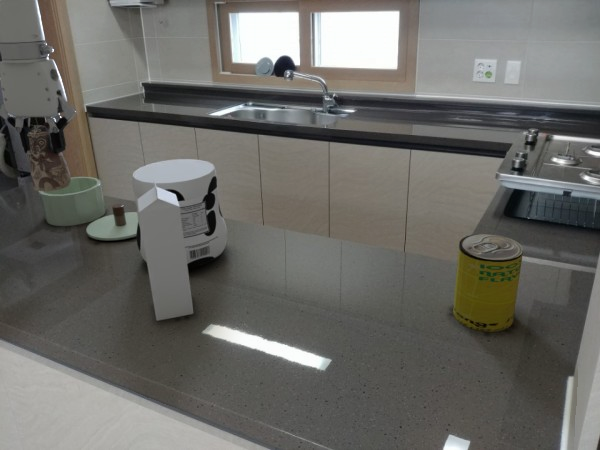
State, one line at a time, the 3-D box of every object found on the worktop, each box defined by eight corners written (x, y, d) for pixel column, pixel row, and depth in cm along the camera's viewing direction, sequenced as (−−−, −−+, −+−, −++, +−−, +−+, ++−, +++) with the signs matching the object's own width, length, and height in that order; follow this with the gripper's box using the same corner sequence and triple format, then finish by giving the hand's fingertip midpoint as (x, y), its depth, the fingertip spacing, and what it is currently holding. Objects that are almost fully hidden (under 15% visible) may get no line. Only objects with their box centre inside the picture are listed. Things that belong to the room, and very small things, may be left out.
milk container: (170, 234, 117) (159, 155, 110) (243, 243, 112) (236, 160, 105) (122, 271, 102) (105, 181, 95) (202, 283, 97) (191, 188, 90)
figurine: (24, 189, 103) (9, 127, 99) (51, 177, 110) (38, 119, 105) (53, 192, 101) (40, 130, 96) (79, 181, 107) (68, 121, 102)
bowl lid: (74, 242, 115) (69, 218, 113) (105, 216, 129) (100, 194, 126) (140, 243, 113) (136, 218, 111) (164, 217, 127) (161, 194, 125)
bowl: (34, 225, 125) (26, 195, 122) (64, 204, 137) (58, 176, 134) (89, 226, 123) (83, 195, 120) (115, 205, 136) (109, 176, 133)
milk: (189, 296, 93) (174, 174, 84) (193, 314, 87) (178, 186, 79) (153, 303, 91) (134, 179, 82) (155, 321, 86) (135, 191, 77)
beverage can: (525, 318, 83) (536, 248, 78) (487, 338, 79) (496, 265, 74) (478, 294, 90) (485, 229, 85) (440, 312, 86) (446, 243, 81)
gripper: (80, 50, 98) (96, 147, 105) (-7, 50, 100) (15, 145, 107) (58, 54, 91) (78, 157, 98) (-35, 55, 93) (-9, 156, 100)
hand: (45, 150), depth 103 cm, fingers closed on figurine, 5 cm apart
